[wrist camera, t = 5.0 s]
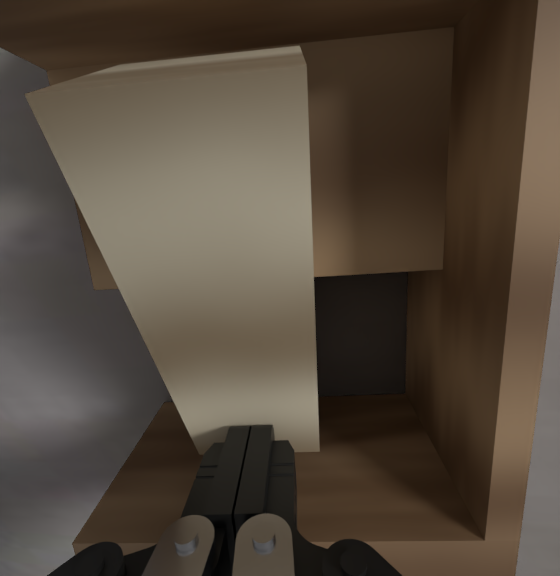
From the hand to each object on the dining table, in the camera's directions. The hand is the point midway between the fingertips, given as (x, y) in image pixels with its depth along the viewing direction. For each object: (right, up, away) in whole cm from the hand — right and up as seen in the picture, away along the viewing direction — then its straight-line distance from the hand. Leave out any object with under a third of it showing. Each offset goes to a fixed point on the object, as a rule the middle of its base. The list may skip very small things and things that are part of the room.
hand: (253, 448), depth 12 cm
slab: (0, +7, 0) cm, 7 cm away
